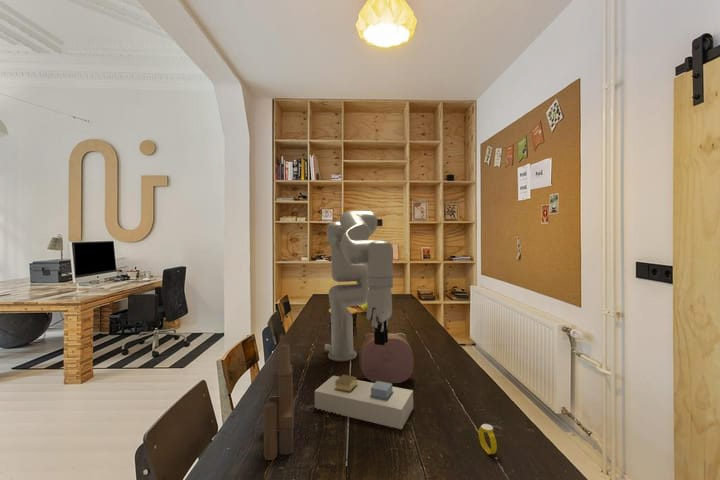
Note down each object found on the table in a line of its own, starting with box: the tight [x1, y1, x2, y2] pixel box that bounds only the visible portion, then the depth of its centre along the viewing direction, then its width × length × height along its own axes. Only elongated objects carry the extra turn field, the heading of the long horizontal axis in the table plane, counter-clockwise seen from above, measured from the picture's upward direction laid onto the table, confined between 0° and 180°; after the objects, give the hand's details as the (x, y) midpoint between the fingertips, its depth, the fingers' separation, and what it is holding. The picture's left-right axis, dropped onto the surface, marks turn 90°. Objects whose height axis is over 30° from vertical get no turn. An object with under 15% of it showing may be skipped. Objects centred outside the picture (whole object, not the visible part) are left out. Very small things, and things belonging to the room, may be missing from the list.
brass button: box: [335, 374, 358, 393], centre depth 104 cm, size 5×5×3 cm
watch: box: [478, 423, 498, 455], centre depth 81 cm, size 6×3×6 cm, turn 10°
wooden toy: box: [262, 344, 295, 461], centre depth 86 cm, size 16×7×25 cm, turn 10°
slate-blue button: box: [371, 381, 393, 400], centre depth 99 cm, size 5×5×3 cm
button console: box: [314, 375, 414, 430], centre depth 101 cm, size 28×12×6 cm, turn 66°
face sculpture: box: [358, 332, 414, 384], centre depth 120 cm, size 20×7×17 cm, turn 92°
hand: (381, 342), depth 98 cm, fingers closed
